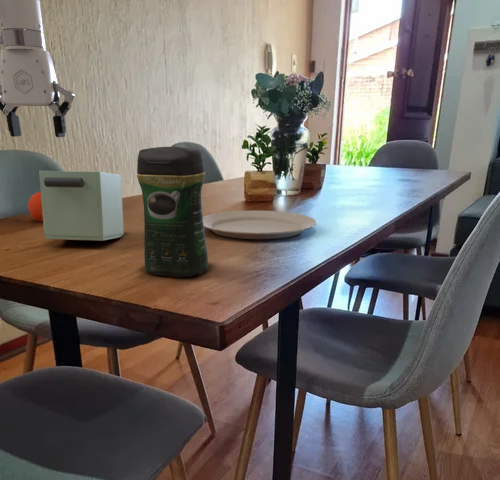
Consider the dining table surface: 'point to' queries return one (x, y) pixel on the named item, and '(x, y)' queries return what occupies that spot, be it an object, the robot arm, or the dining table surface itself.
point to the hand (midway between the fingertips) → (38, 136)
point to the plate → (257, 224)
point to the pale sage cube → (81, 205)
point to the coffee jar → (173, 210)
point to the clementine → (36, 207)
